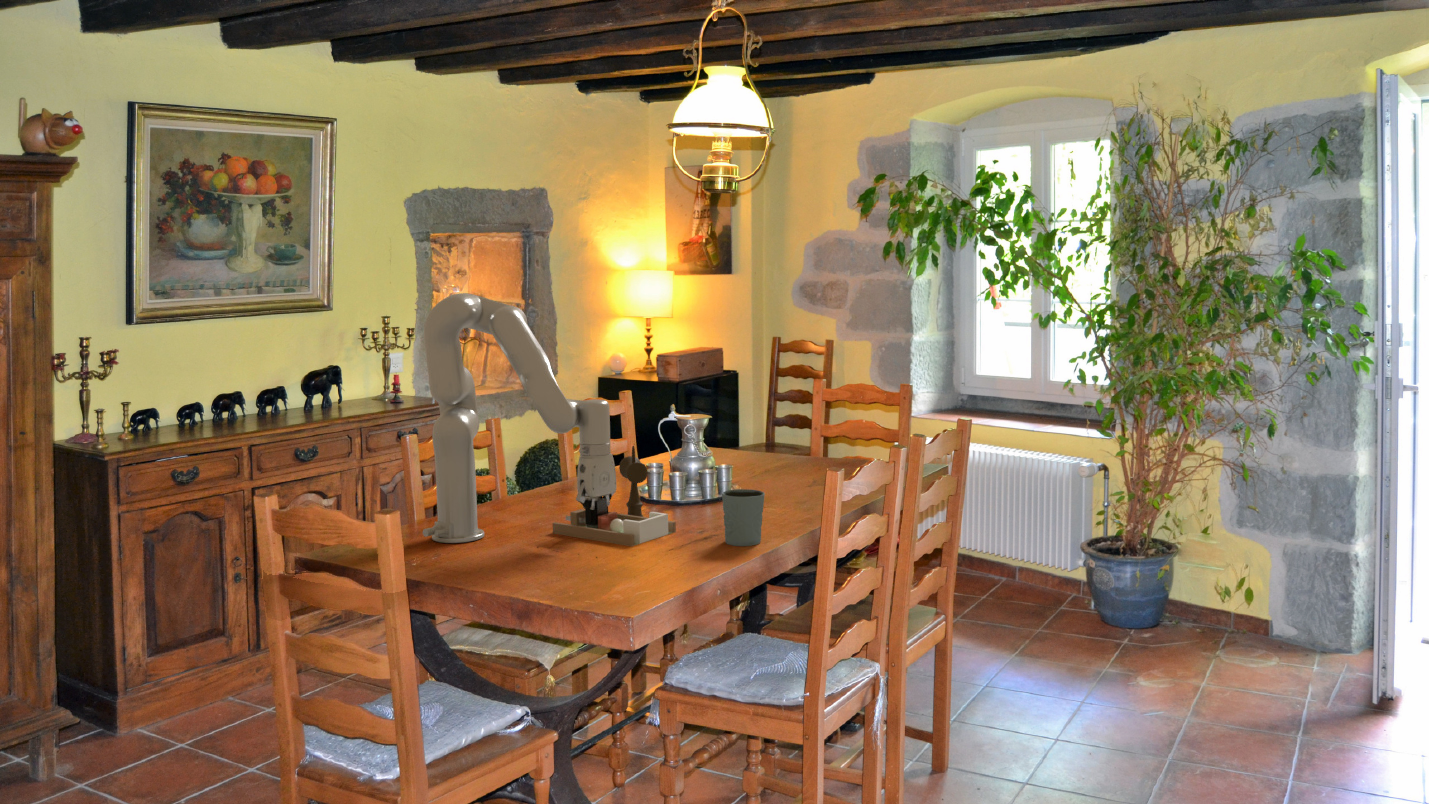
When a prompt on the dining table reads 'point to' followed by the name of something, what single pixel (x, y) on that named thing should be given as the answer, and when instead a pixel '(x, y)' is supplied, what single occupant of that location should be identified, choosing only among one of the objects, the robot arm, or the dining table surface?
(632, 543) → the open rectangular tray
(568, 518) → the block
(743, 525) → the grey cup
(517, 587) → the dining table surface
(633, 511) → the kendama
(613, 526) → the ball
